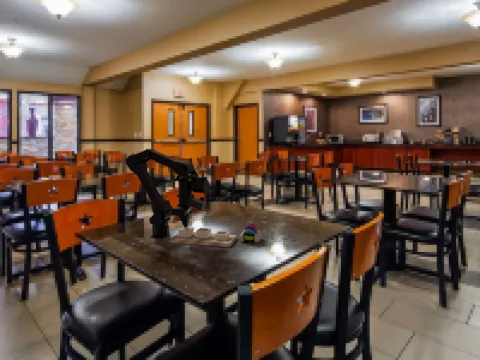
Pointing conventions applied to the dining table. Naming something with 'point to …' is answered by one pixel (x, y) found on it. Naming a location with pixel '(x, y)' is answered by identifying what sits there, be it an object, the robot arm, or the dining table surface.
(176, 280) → the dining table surface
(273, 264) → the dining table surface
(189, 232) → the tile one
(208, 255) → the dining table surface
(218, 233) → the tile three
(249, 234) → the rainbow lobed toy
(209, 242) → the tan curved board
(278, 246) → the dining table surface
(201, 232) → the tile two
